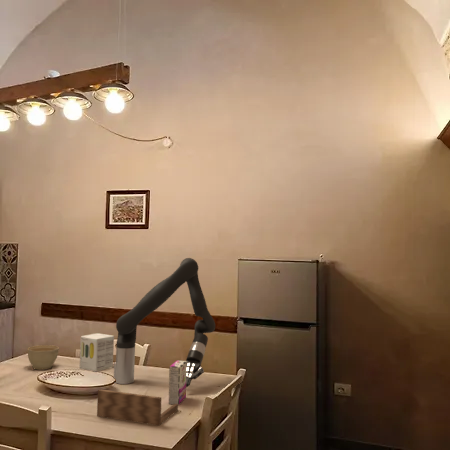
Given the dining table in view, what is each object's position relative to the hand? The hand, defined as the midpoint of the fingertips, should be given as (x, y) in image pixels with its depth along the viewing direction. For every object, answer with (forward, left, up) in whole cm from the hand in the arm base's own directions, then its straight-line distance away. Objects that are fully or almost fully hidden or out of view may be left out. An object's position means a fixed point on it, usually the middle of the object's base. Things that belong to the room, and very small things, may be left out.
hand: (185, 385), depth 216 cm
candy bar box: (0, -10, -4) cm, 11 cm away
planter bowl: (-90, +13, -4) cm, 91 cm away
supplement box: (-64, +25, -4) cm, 69 cm away
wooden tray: (-9, -30, -4) cm, 31 cm away
